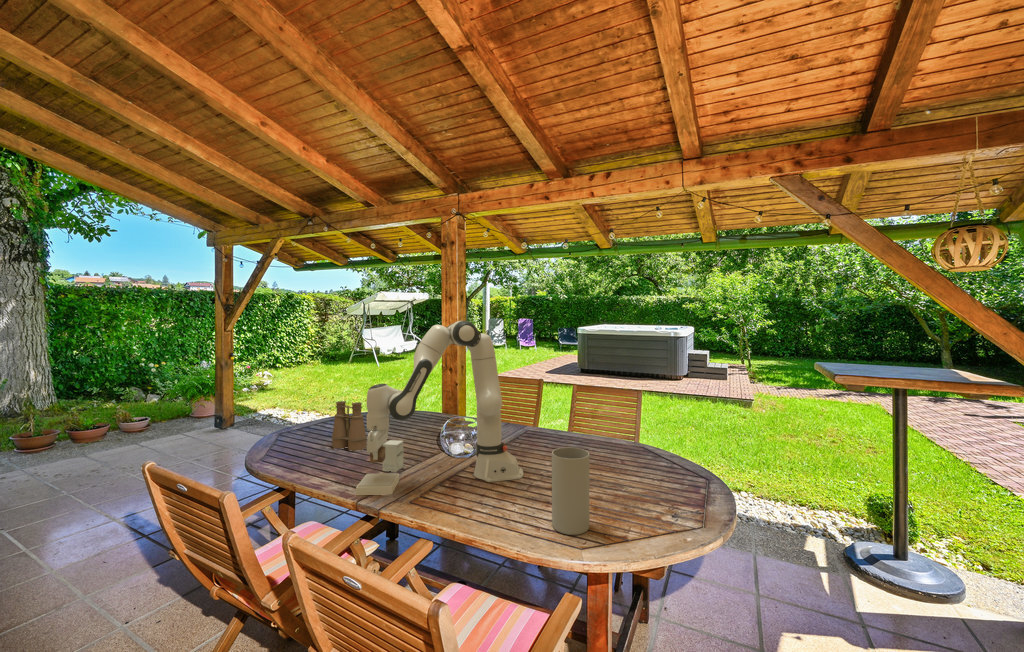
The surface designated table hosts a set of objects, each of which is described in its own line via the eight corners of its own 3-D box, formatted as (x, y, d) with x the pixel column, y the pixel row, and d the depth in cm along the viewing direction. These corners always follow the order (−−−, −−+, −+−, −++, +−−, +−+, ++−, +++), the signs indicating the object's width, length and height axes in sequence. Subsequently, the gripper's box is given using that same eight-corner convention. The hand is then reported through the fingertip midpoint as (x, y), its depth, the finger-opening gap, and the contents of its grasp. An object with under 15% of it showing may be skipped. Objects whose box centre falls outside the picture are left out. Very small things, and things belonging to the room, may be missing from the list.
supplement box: (396, 472, 193) (396, 445, 193) (381, 471, 195) (381, 444, 194) (404, 466, 200) (403, 440, 200) (389, 465, 202) (389, 439, 202)
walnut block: (385, 458, 177) (385, 446, 177) (382, 462, 172) (382, 450, 172) (373, 458, 177) (373, 446, 177) (369, 462, 172) (369, 450, 172)
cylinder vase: (555, 515, 150) (555, 446, 149) (591, 520, 146) (591, 449, 146) (548, 533, 138) (548, 457, 137) (587, 538, 134) (587, 460, 134)
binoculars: (327, 449, 228) (326, 403, 228) (340, 443, 238) (340, 399, 237) (358, 453, 221) (358, 405, 221) (370, 447, 231) (370, 402, 230)
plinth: (399, 481, 182) (399, 472, 182) (391, 495, 168) (391, 485, 168) (366, 482, 181) (366, 473, 181) (356, 496, 167) (355, 486, 167)
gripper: (379, 429, 164) (379, 465, 164) (391, 417, 184) (391, 449, 185) (362, 430, 164) (362, 465, 164) (376, 417, 184) (376, 449, 184)
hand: (377, 456), depth 174 cm, fingers closed on walnut block, 5 cm apart
